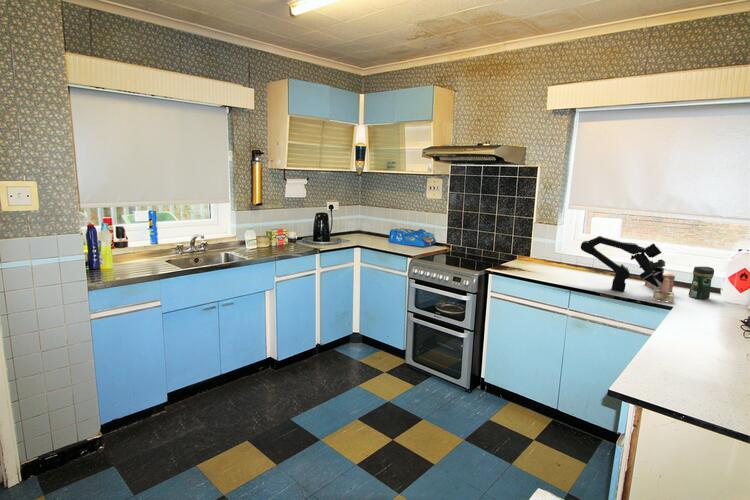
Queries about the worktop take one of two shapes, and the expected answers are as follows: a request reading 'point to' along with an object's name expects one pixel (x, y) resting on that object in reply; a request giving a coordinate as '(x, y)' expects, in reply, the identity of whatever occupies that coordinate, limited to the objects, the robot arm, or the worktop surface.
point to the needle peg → (665, 286)
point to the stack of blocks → (665, 275)
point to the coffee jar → (701, 282)
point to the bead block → (663, 296)
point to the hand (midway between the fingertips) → (661, 285)
